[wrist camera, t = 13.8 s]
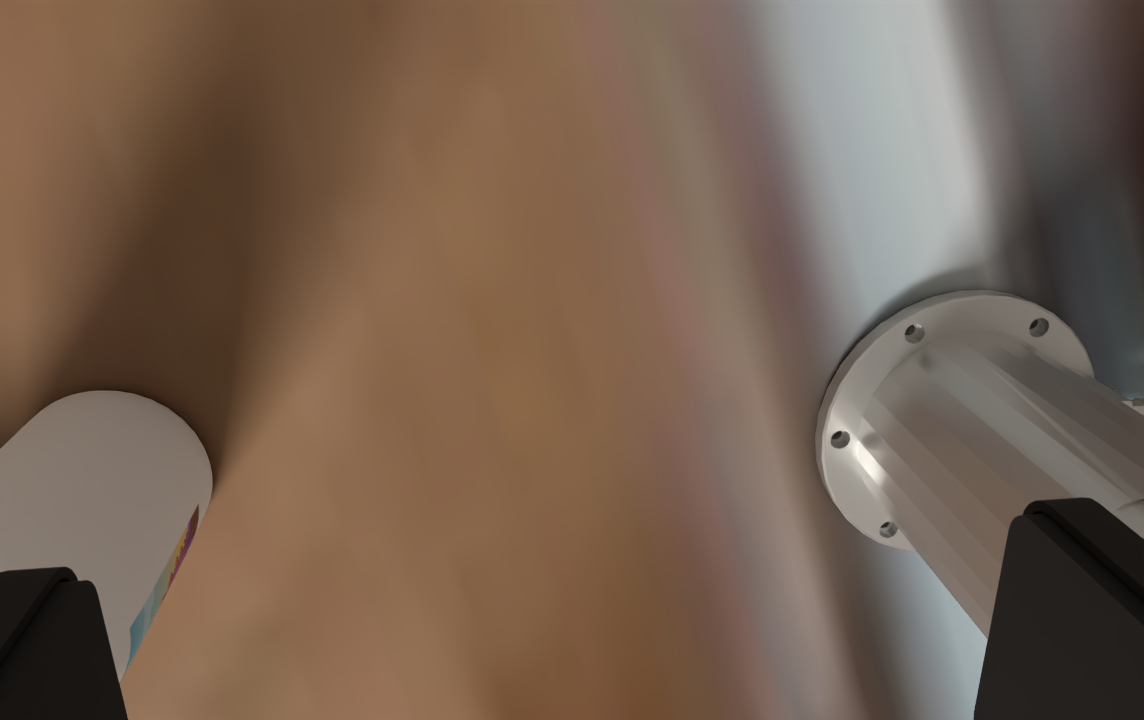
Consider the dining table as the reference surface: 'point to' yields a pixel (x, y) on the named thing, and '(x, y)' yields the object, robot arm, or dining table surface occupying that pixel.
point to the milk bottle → (105, 502)
